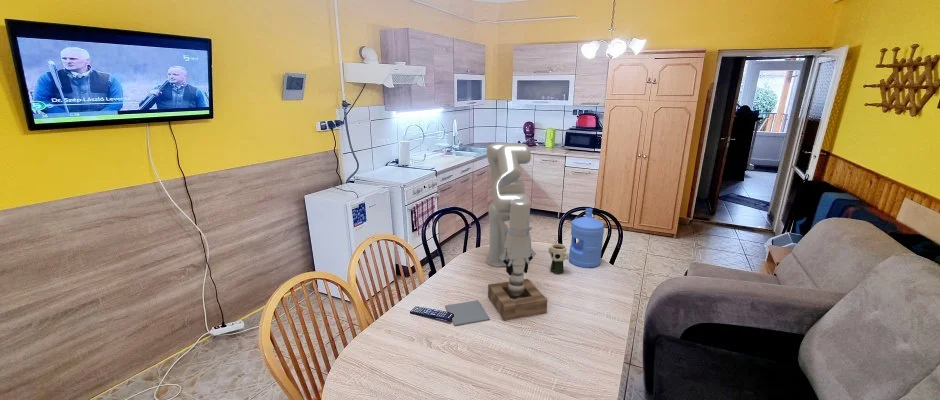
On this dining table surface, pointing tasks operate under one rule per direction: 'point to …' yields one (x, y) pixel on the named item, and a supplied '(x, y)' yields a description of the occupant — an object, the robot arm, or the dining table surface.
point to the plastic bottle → (517, 277)
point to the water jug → (586, 241)
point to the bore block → (517, 301)
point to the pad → (467, 313)
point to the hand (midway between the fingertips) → (516, 272)
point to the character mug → (558, 257)
